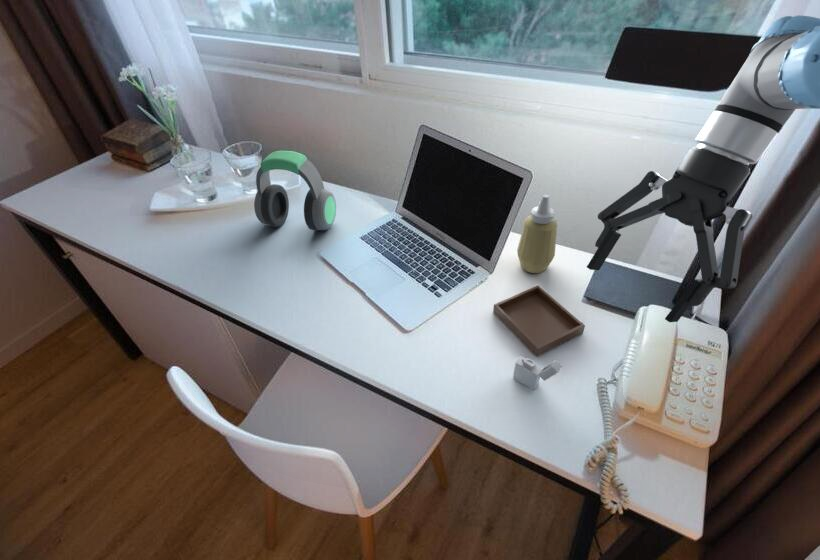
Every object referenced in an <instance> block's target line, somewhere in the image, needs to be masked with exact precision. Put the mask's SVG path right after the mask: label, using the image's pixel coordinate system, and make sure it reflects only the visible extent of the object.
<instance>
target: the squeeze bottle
mask: <svg viewBox="0 0 820 560" xmlns="http://www.w3.org/2000/svg"><path fill="white" fill-rule="evenodd" d="M555 214H556V213H555V210H554V209H553V208H552V207H550V195H549V194H542V196H541V199H540V201H539V203H538V205H537V206H534V207H532V208H531V211H530V215H529V216H526V218H525V220H524V224H523V226H522V230H521V234H520V239H519V242H518V245H517V250H516V251H517V252H516V253H517V257H518V261H519V265H520V268H522V270H524V271H525V272H527V273H530V274H540V273H543V272H545V271H546V270H547V269H548V267H549V266H550V264H551V263H552V261H553V260H554V258H555V256H556V245H557V235H558V234H557V232H558V221H557V220H556V219H555Z"/></svg>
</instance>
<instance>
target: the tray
mask: <svg viewBox="0 0 820 560" xmlns="http://www.w3.org/2000/svg"><path fill="white" fill-rule="evenodd" d="M492 313H493V314H494V315H495V316H496V317H497V319H499V321H500V322H501V323H502V324H503V325H505V327H506V328H507V329H509V331H510V332H511V333H512V334H513V335H514V336H515V337H516V338H517V339H518V340H519V341H520V342H521V343H522V344H523V345H524V346H525V347H526V348H527V350H529V351H530V352H531V353H532V355H533V356H535V358H538V357H540V356H542V355H543V354H546V353H548V352H550V351H551V350H554V349H555V348H557V347H559V346H561V345H563V344H566V343H567V342H569V341H571V340H573V339H575V338H577V337H579V336H581V335H583V333H584V330H585V327H586V325H585V324H584V323H583V322H582V321H581V320H579V318H577V317H576V316H575V315H574V314H572V313H571V312H570V311H569V310H568V309H567V308H565V307H564V306H563V305H562V304H561V303H559V301H557V300H556V299H555V298H553V296H552V295H550V294H549V293H548V292H547V291H546V290H544V289H543V288H542V287H541V286H540V285H538V284H537V285H535V286H533V287H530V288H528V289H526V290H524V291H522V292H519V293H517V294H515V295H512V296H510V297H508V298H506V299H503V300H502V301H499V302H497V303H495V304H493V310H492Z"/></svg>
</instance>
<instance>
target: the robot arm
mask: <svg viewBox="0 0 820 560" xmlns="http://www.w3.org/2000/svg"><path fill="white" fill-rule="evenodd" d="M806 109H810V110H811V109H814V110H815V109H817V110H820V17H816V16H815V17H814V16H811V15H810V16H809V15H800V14H799V15H794V16H792V15H786V16H783V17H780V18H777V19H775V20H774V21H773V22H772V23H771V24H770V25H769V26H768V27H767V29H766V30H765V32H764V33H763V35H762V36H761V37H760V39H759V40H758V41H757V42H756V43H755V44H753V46H752V48H751V50H750V52H749V54H748V56H747V58H746V60H745V62H744V63H743V64H742V65H741V67H740V69H739V71H738V73H736V76H735V77H734V79H733V80H732V82H731V83H730V85H729V87H728V88H727V90H726V92H725V93H724V94H723V96H722V98H721V100H720V101H719V102H718V104H717V106H716V107H715V109H714V110H713V112H712V114H711V115H710V116H709V118H708V119H707V120H706V122H705V124H704V125H703V127H702V128H701V130H700V132H698V134H697V136H696V138H695V139H694V141H695V144H697V145H696V146H692V147H691V148H689V149H688V150H687V152H686V153H685V155H684V157H683V158H682V159H681V161H680V163H679V165H678V166H677V167H676V169H675V171H674V173H673V175H672V176H671V177H670V178H669V179H666V178H664V177H663V175H662V174H660V173H658V172H655V171H652V170H650V171H648V172H647V173H646V174H645V175H644V177H643V178H642V180H641V181H640V182H639V183H637V185H635V186H634V187H633V188H632V189H630V190H629V191H627V192H626V193H624V194H623V195H622V196H620V197H619V198H617V199H616V200H615V201H614V202H612V203H611V204H610V205H608V206H606V207H605V208H604V209H603V210H601V211H600V212H599V213H598V214H597V219H598V220H600V221H601V222H602V224H603V226H604V227H603V229H602V231H601V232H600V235H598V238H597V239H596V241H595V243H594V246H595V247H596V248H597V249H596V250H595V253H594V254H593V256H592V257H591V259H590V261H589V262H588V264H587V266H586V268H587V269H588V270H590V271H600V270H601V268H602V266H603V265H604V264H605V261H606V260H607V258H608V257H609V255H610V254H611V252H612V250H613V249H614V248H615V245H616V244H617V242H618V241H619V239H620V238H621V236H622V233H620V231H621V230H622V229H624V228H628V227H629V226H632V225H635V224H637V223H639V222H642V221H645V220H648V219H650V218H652V217H655V216H658V215H662V214H664V216H666V217H668V218H671V219H674V220H677V221H678V222H679V223H681V224H683V225H685V226H687V227H691V228H693V232H694V234H695V240H696V246H697V254H698V260H699V267H700V274H701V279H700V278H694V279H692V281H691V283H690V284H689V285H688V287H687V288H686V290H685V291H684V292H683V294H682V295H681V296H680V297H679V299H678V300H677V301H676V303H675V304H674V305H673V307H672V308H671V310H670V311H669V313H668V314H667V315H666V316H665V318H664V320H666V322H668V323H677V322H679V320H680V319H681V318H682V317H683V315H684V314H685V313H686V311H687V310H688V309H689V307H690V306H693V307H699V306H700V305H702V304H703V303H704V301H705V300H706V298H707V297H708V296H709V295H710V294H711V292H712V291H713V290H714V289H715V288H721V289H728V290H729V289H730V290H731V289H735V288H736V287H737V285H738V279H739V273H740V265H741V257H742V251H743V243H744V236H745V231H746V229H747V227H748V225H749V223H750V222H751V220H752V218H753V213H752V212H750V211H748V210H746V209H743V208H740V209H738V208H734V207H732V206H730V203H731V200H732V198H733V197H734V196H735V195H736V193H738V190H739V189H740V187H741V186H742V185H743V183H744V182H745V180H746V179H747V178H748V176H749V175H750V174H751V168H750V167H749V165H755V164H757V163H758V162H759V160H760V159H761V158H762V156H763V155H764V154H765V152H766V151H767V149H769V147H770V145H771V144H772V143H773V141H774V140H775V139H776V137H778V134H779V133H780V132H781V130H782V129H783V127H784V126H785V125H786V123H787V122H788V120H789V119H790V118H791V116H792V115H793V114H794V113H795V111H796V110H806ZM660 188H661V197H660V198H658V199H656V200H653V201H651V202H648V204H646V205H644V206H642V207H639V208H635V209H634V210H631V211H629V212H627V213H625V211H627V210H629V209H630V208H631V207H633V206H634V205H636V204H637V203H639V202H640V201H641V200H643V199H644V198H646V197H648V195H650V194H651V193H652V192H653V191H657V190H658V189H660ZM658 191H659V190H658ZM623 213H624V214H623ZM722 216H725V220H724V221H725V223H726V225H727V227H726V233H725V239H724V248H723V254H722V259H721V260H722V261H721V268H720V275H719V268H718V267H719V266H718V260H717V254H716V247H715V241H714V240H715V239H714V224H713V220H715V219H718V218H720V217H722ZM804 560H820V545H819V546H817V547H816V548H815V549H814V550H813V551H812V552H811V553H810V554H809V555H808V556H807V557H806V558H804Z"/></svg>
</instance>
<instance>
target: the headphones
mask: <svg viewBox="0 0 820 560" xmlns="http://www.w3.org/2000/svg"><path fill="white" fill-rule="evenodd" d="M275 170H279V171H280V170H281V171H282V170H283V171H287V172H291V173H292V174H293V173H294V174H296V175H298V176H300V177H301V178H302V179H303V180H304V181H305V183H306V184H307V186H308V188H309V190H308V191H307V193H306V195H305V199H304V203H303V217H304V222H305V224H306V226H307V228H308V229H310V230H311V231H314V232H315V231H316V232H318V231H327V230H329V229H330V228H331V227H332V225H334V222H335V220H336V216H337V203H336V199H335V196H334V193H333V192H332V191H331V190H329V189H327V188H325V186H324V182H323V180H322V177H321V175H320V172H319V170H318V168H316V166H315V165H314V164H313V163H312V162H311V161H310V160H309V159H308V158H307V156H306V155H304V154H302V153H300V152H296V151H293V150H277V151H273V152H271V153H269V154H268V155H267V156H265V158H264V159H263V160H261V162H260V167H259V168H258V170H257V172H256V176H255V184H256V190H257V192H256V194H255V197H254V203H253V207H254V213H255V216H256V218H257V220H258V221H259V223H260V224H263V225H266V226H269V227H272V228H279V227H281V226H283V225H284V224H285V223H286V220H287V218H288V215H289V211H290V203H289V201H290V200H289V196H288V192H287V190H286V189H285V187H284V186H282V185H281V184H277V183H276V184H275V183H273V184H272V182H271V176H270V171H275Z"/></svg>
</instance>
